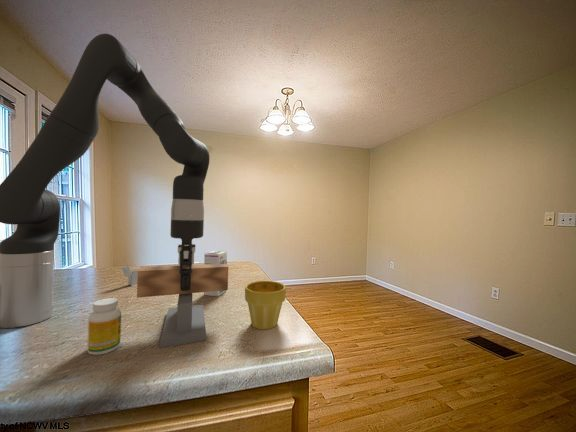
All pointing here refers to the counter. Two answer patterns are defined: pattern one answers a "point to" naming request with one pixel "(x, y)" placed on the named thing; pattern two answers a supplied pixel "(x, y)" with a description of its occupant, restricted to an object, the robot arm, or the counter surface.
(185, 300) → the ridge stand
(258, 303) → the plant pot
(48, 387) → the counter surface
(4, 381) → the counter surface
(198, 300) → the counter surface
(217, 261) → the syrup box
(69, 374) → the counter surface
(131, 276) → the lighter
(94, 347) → the supplement bottle
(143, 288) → the wooden beam
